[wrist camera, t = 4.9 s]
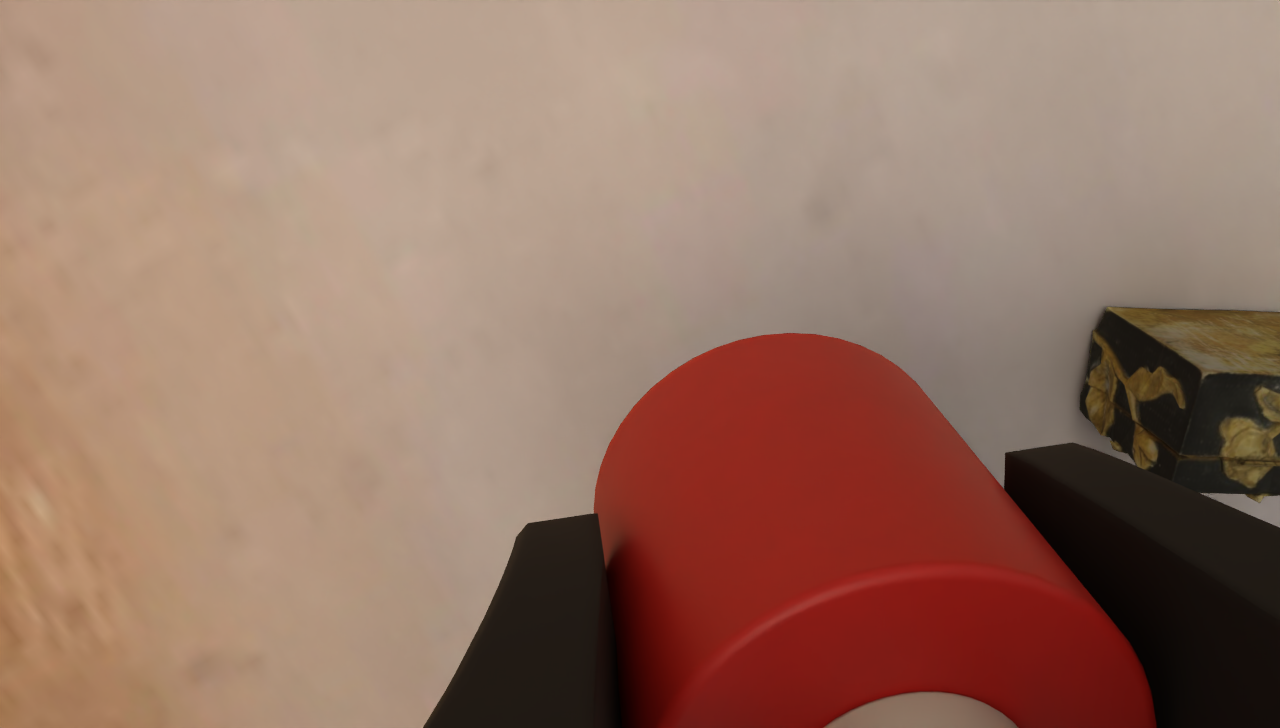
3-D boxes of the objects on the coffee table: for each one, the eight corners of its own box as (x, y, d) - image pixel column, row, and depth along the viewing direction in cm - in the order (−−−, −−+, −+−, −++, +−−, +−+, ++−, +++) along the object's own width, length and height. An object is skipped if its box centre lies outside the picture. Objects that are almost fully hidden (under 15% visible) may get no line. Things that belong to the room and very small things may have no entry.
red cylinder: (828, 255, 10) (1090, 553, 6) (1011, 518, 12) (1341, 932, 7) (518, 476, 11) (525, 912, 6) (726, 703, 12) (858, 1198, 8)
